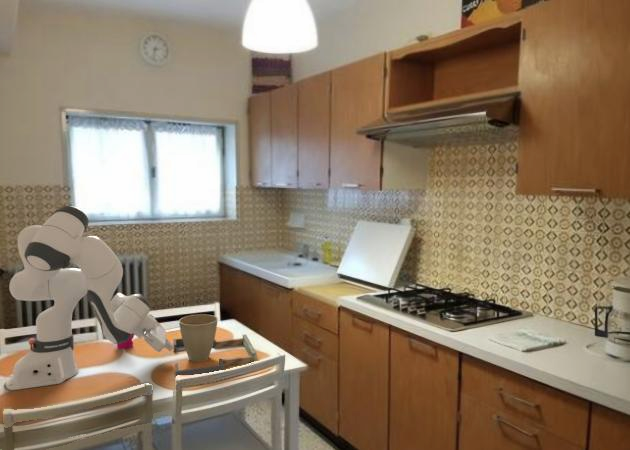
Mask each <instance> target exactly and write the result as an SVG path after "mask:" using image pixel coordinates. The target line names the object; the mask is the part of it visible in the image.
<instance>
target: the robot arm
mask: <svg viewBox="0 0 630 450" xmlns="http://www.w3.org/2000/svg"><path fill="white" fill-rule="evenodd" d="M89 222H90V221H89V218H88V216H87V215H86V213H85V212H84V211H83V210H81V209H79V208H78V207H77V206H73V205H63V206H60V207H59V208H57V209H56V210H55V211H53V213H52V214H51V215H50V217H49V218H47V220H46V221H45V222H43V224H42V225H39V224H38V225H37V224H35V225H29V226H26V227H25V228H23V229H22V230H21V231H20V232H19V233H18V235H17V248H18V253H19V257H20V259H21V262H22V264H23V267H24V268H23V270H20V271H19V272H16V273H15V274H14V275H13V276H12V278H11V279H10V282H9V286H8V287H9V292H10V294H11V296H12V297H13V298H14V299H15V300H17V301H26V302H27V301H28V302H37V301H38V302H39V301H40V302H41V301H54V304H53V305H52V306H50V307H49V308H47V309H45V310H44V311H41V312H40V313H39V314H38V316H37V317H36V319H35V326H36V327H35V328H36V331H35V332H36V338H30V339H29V340H28V345H29V346H30V347H29V348H30V350H29V351H28V352H27V353H26V354H25V355H23V356H22V357H21V358H19V359H18V360H17V361H16V362H15V364H14V367H13V370H12V373H11V374H10V375H9V376H8V377H6V380H5V388H6V389H7V390H10V391H16V390H17V391H18V390H24V389H30V388H31V389H33V388H38V387H45V386H52V385H58V384H62V383H64V382H65V381H66V380H67V379H70V378H73V377H74V376H76V375H77V374H78V373H79V368H78V366H77V362H76V358H75V353H74V349H75V339H74V335H73V333H72V328H73V327H72V326H73V325H72V323H73V322H72V321H73V320H72V319H73V312H74V310H75V307H76V306H77V304H78V303H79V302H80V301H81V299H82V298H83V297H85V296H86V298H87V300H88V303H89V306H90V308H91V309H92V310H91V311H92V312H93V313H94V315H95V317H96V319H97V321H98V323H99V325H100V330H101V332H102V335H103V336H104V337H105V339H106V340H108V341H109V342H110V343H112V344H114V345H117V344H120V343H124V342H127V341H128V339H129V338H130V336H131V335H132V333H133V334H134V336H136V337H137V338H138V339H141V338H143V339H144V342H146V343H147V344H148V345H149V346H150V347H151V348H152V349H153V350H155V351H156V352H158V353H160V352H162V350H163V349H166V350H168V351H169V352H170V351H172V350H174V344H173V343H171V342H170V341H169V339H168V338H167V336H166V329H165V328H164V326H163V325H162V324H161V323H159V322H158V321H157V320H156V319H155V317H154V316H153V314H150V311H151V310H152V309H151V307H152V306H151V302H150V301H149V300H148V299H147V298H146V297H145V296H144V295H142V294H141V293H135V294H130V295H125V294H123V293H122V292H117V293H116V294H114V293H115V292H116V289H117V288H118V286H119V284H120V283H121V282H122V278H123V275H124V268H123V265H122V263H121V261H120V260H119V258H118V256H117V255H116V254H115V252H114V251H113V249H111V247H110V246H109V245H108V244H107V243H106V242H105V241H104V240H102V239H101V238H100V237H98V236H95V235H87V236H84V237H83V234H84V233H86V231H87V229H88V226H89ZM71 263H72V264H73V265H75V266H77V267H78V268H76V267H75V268H74V267H70V266H71Z"/></svg>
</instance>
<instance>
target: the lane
mask: <svg viewBox="0 0 630 450" xmlns="http://www.w3.org/2000/svg"><path fill="white" fill-rule="evenodd" d="M235 346H236V347H237V346H243V347H244V348H245V351H246V353H247V354H248V356H238V357H236V356H235V357H229V358H222V361H223V364H224V368H227V367H231V366H232V367H233V366H243V365H248V364H247V363H251V362H254V361H257V351H256V349H255V347H254V346H253V344H252V343H251V341H250V339H249V337H248V335H247V334H242V338H240V337H239V338H231V339H222V340H216V347H215V348H225V347H235ZM242 364H243V365H242ZM251 364H252V363H251Z"/></svg>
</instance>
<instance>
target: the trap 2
mask: <svg viewBox="0 0 630 450" xmlns="http://www.w3.org/2000/svg"><path fill="white" fill-rule="evenodd" d="M222 359H223V358H218V365H217V364H216V365H210V366H203V367H195V368H185V369H179V363H175V364H174V373H175V377H176V376H177V375H194V374H202V373H209V372H214V371H219V370H224V371H225V367H224V364H223V361H222Z"/></svg>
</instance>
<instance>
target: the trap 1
mask: <svg viewBox="0 0 630 450" xmlns="http://www.w3.org/2000/svg"><path fill="white" fill-rule="evenodd" d="M216 341H217V340H216V337H215V338H214V342H213V346H212V348H216ZM184 351H185V352H186V349H185V347H184V343H183V340H182V337H181V338H173V352H174V353H176V352H184Z"/></svg>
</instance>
